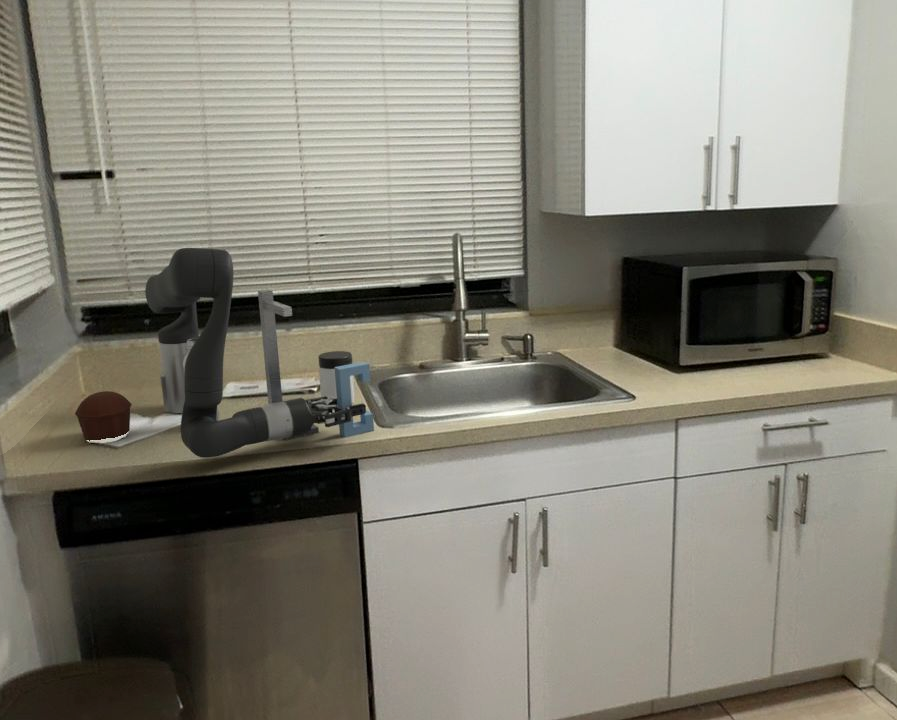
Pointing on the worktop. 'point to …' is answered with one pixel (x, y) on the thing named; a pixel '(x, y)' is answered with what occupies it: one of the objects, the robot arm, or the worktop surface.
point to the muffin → (104, 415)
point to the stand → (273, 347)
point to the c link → (345, 397)
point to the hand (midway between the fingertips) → (357, 404)
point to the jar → (333, 372)
